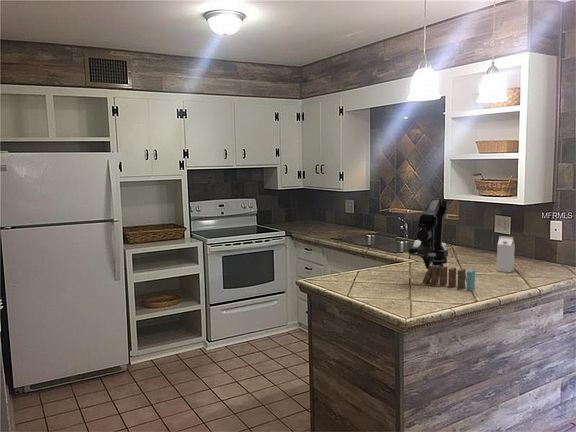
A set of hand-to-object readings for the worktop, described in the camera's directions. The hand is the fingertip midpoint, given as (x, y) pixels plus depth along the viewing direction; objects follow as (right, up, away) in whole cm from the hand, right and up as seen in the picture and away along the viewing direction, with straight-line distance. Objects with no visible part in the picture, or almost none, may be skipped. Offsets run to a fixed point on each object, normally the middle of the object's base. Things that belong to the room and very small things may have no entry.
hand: (427, 268), depth 244 cm
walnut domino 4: (+10, -8, -7) cm, 15 cm away
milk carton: (+49, -4, +21) cm, 53 cm away
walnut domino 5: (+13, -8, -10) cm, 19 cm away
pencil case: (+20, +1, +64) cm, 67 cm away
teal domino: (+17, -8, -13) cm, 23 cm away
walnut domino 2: (+3, -7, -1) cm, 8 cm away
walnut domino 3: (+7, -8, -4) cm, 11 cm away
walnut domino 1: (0, -7, +1) cm, 7 cm away
